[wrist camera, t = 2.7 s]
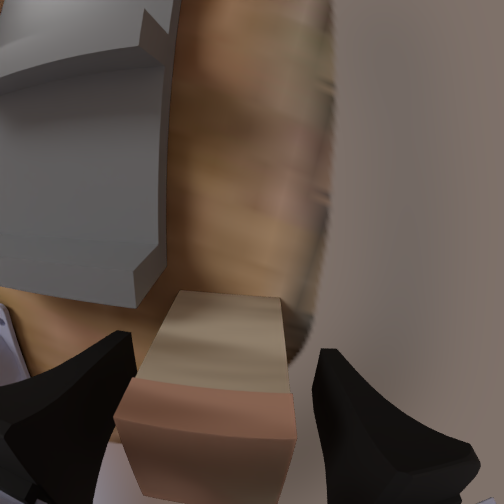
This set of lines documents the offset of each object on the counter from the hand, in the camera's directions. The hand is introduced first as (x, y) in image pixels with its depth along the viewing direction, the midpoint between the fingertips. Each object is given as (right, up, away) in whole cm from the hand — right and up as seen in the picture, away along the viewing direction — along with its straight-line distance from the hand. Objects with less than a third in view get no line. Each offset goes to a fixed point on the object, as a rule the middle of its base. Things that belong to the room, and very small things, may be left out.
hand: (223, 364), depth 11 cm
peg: (0, +1, +2) cm, 2 cm away
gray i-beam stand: (-6, +11, -2) cm, 13 cm away
